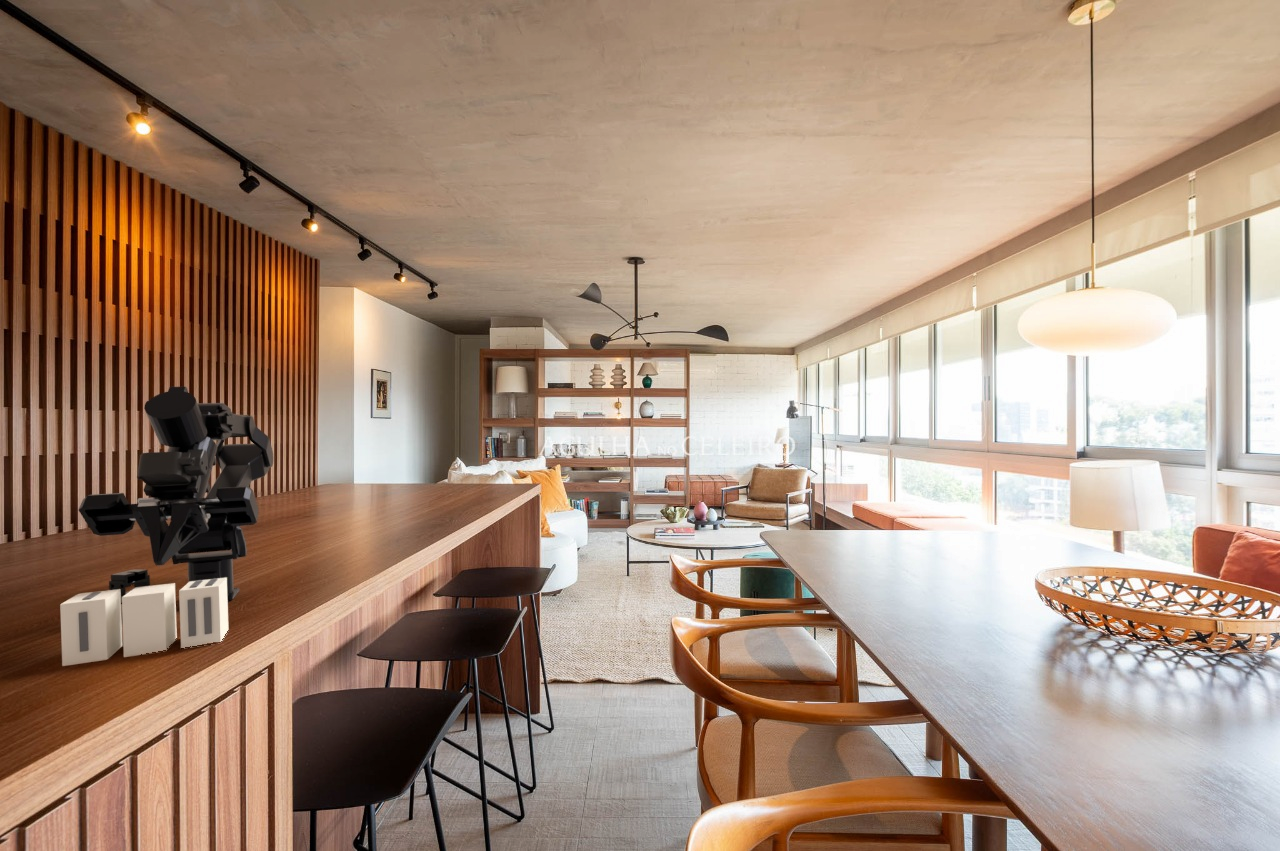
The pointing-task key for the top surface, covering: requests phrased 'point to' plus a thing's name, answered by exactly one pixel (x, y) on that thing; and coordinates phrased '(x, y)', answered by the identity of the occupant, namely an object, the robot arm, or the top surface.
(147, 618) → the plain block
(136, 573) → the black angular block
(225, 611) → the marked block two
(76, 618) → the marked block one
